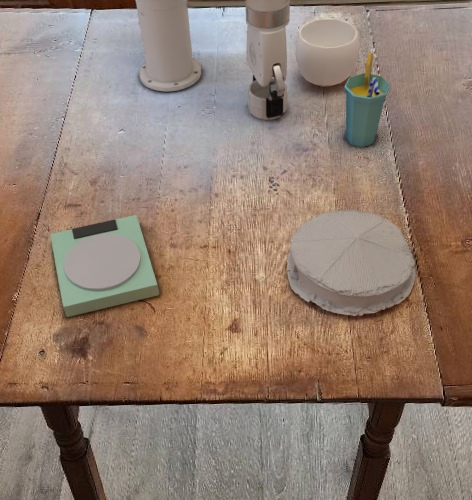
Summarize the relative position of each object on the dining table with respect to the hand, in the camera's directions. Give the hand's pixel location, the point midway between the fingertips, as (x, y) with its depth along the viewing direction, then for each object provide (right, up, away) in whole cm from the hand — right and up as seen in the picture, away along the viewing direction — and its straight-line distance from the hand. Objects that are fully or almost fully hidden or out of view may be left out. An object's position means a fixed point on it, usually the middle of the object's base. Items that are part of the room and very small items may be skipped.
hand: (267, 103), depth 129 cm
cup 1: (+12, +7, +7) cm, 15 cm away
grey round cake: (+11, -34, -25) cm, 44 cm away
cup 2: (+17, -9, -6) cm, 20 cm away
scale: (-26, -34, -23) cm, 49 cm away
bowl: (0, -1, +1) cm, 1 cm away
